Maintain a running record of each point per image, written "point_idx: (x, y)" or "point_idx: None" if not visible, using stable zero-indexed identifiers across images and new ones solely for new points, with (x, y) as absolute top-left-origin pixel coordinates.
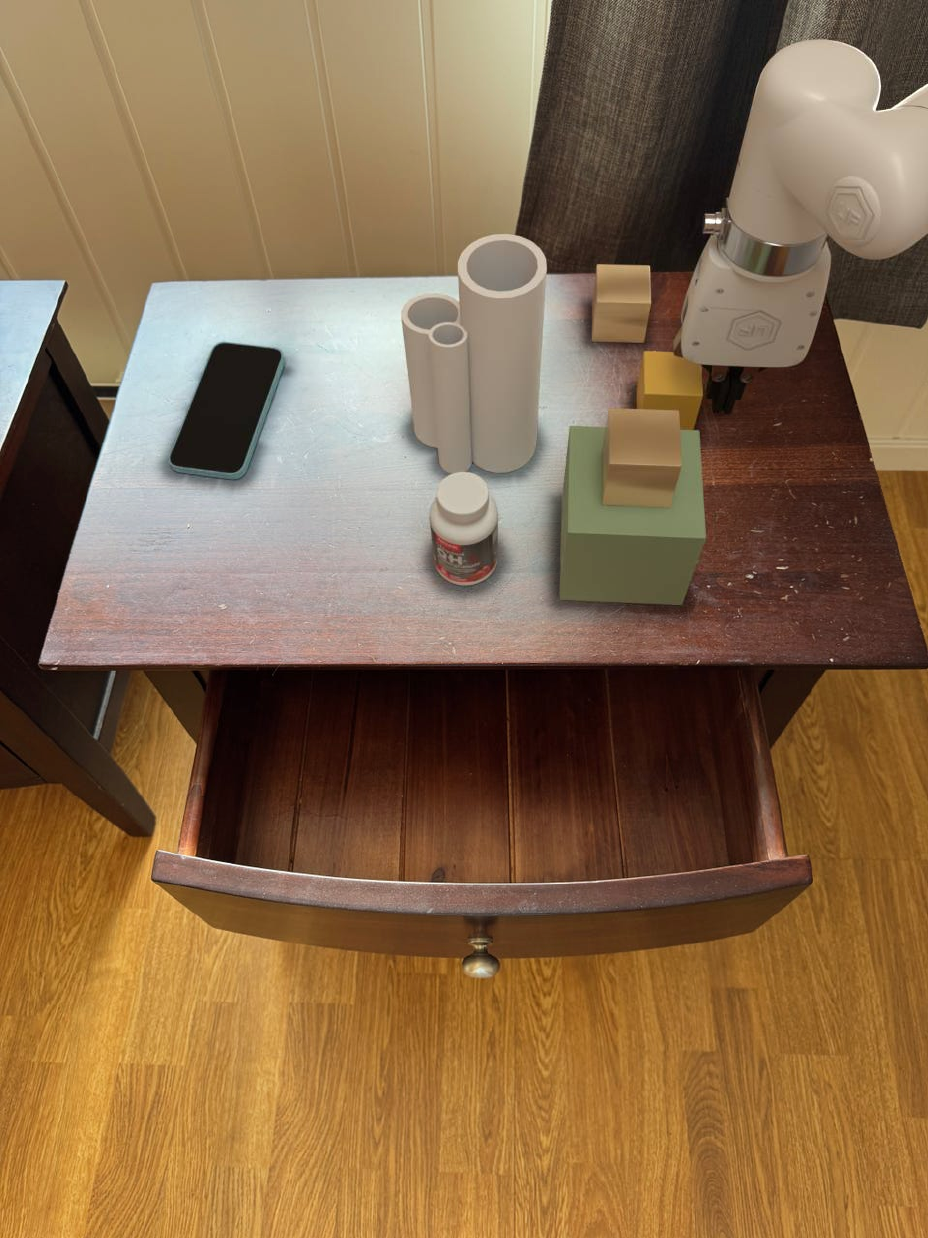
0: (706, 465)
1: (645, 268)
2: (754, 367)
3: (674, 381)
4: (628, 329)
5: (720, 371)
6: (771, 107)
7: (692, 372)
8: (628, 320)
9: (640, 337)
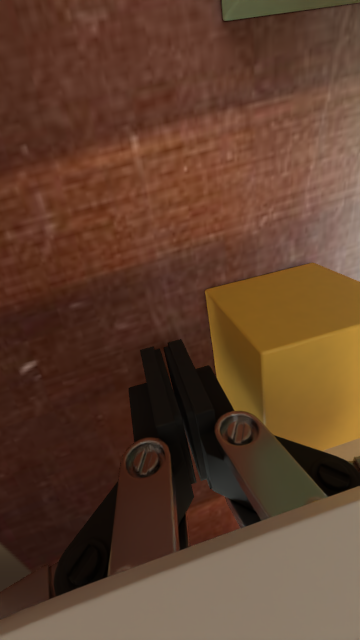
0: (161, 204)
1: None
2: (136, 517)
3: (338, 372)
4: (336, 451)
5: (250, 450)
6: None
7: (287, 415)
8: None
9: None
